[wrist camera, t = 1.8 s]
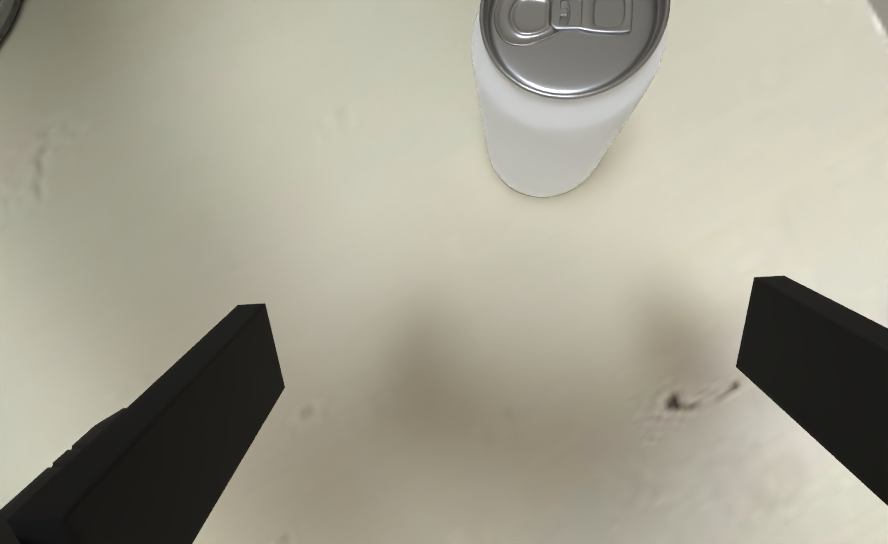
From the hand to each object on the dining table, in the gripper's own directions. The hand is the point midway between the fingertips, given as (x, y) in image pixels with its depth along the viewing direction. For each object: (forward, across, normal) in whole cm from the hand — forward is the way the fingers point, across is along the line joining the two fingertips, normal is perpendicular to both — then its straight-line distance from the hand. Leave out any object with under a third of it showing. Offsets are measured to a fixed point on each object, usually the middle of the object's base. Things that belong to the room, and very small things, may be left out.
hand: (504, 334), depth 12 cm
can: (+16, +4, +4) cm, 17 cm away
